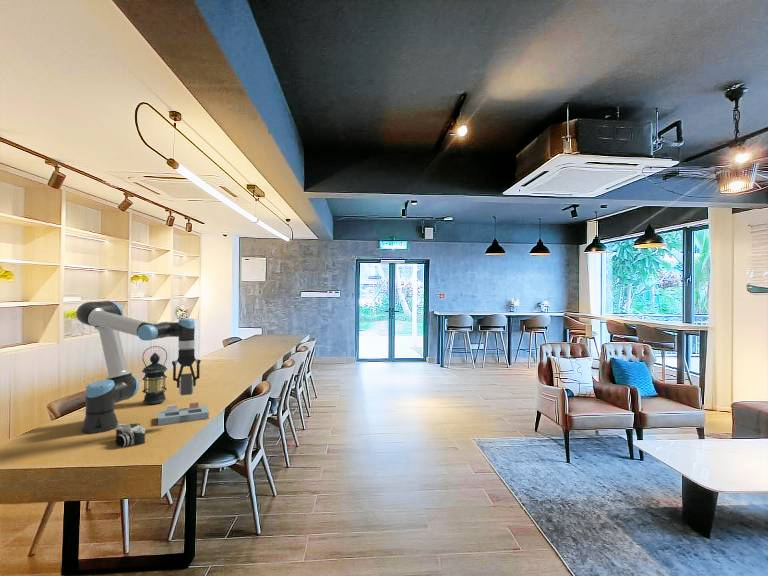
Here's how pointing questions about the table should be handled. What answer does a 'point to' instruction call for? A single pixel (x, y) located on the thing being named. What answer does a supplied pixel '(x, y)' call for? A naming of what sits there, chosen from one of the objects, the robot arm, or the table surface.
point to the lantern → (154, 380)
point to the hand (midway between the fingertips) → (186, 393)
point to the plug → (186, 384)
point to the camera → (129, 434)
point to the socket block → (182, 414)
